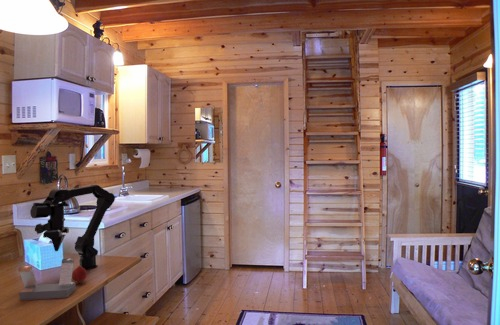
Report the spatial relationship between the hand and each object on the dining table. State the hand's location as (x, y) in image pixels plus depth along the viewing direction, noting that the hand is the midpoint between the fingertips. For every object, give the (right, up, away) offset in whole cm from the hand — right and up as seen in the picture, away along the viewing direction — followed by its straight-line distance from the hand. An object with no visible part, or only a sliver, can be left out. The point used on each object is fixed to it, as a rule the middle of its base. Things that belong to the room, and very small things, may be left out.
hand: (56, 251), depth 159 cm
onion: (+14, -13, -7) cm, 20 cm away
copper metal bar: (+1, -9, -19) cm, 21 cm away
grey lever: (+13, -9, -18) cm, 24 cm away
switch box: (+7, -13, -18) cm, 24 cm away
